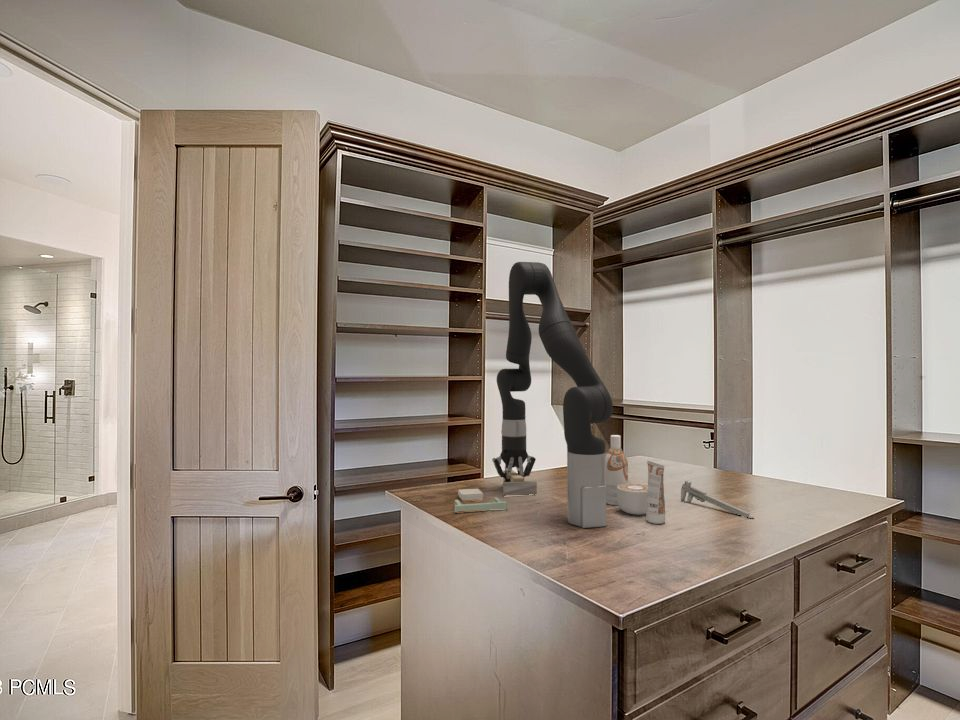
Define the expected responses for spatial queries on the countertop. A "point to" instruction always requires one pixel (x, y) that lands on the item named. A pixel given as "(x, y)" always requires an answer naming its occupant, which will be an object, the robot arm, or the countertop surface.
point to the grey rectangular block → (518, 485)
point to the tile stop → (480, 505)
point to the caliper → (708, 499)
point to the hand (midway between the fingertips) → (514, 490)
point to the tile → (470, 494)
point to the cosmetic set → (634, 486)
